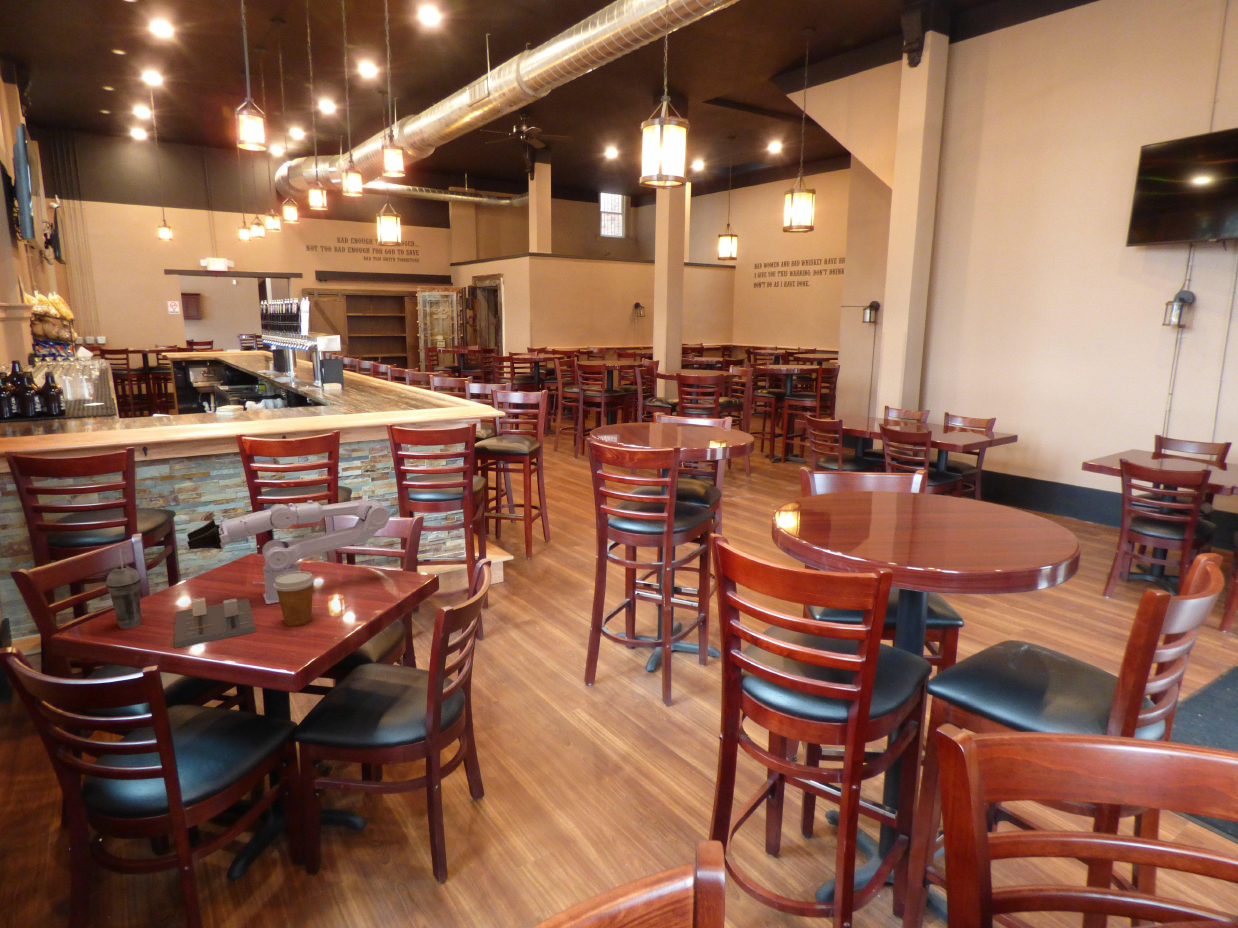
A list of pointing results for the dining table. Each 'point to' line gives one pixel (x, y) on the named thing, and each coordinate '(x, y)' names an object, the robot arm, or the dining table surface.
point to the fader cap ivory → (199, 607)
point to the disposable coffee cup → (295, 597)
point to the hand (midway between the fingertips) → (188, 541)
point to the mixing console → (212, 624)
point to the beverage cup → (125, 595)
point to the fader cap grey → (230, 607)
